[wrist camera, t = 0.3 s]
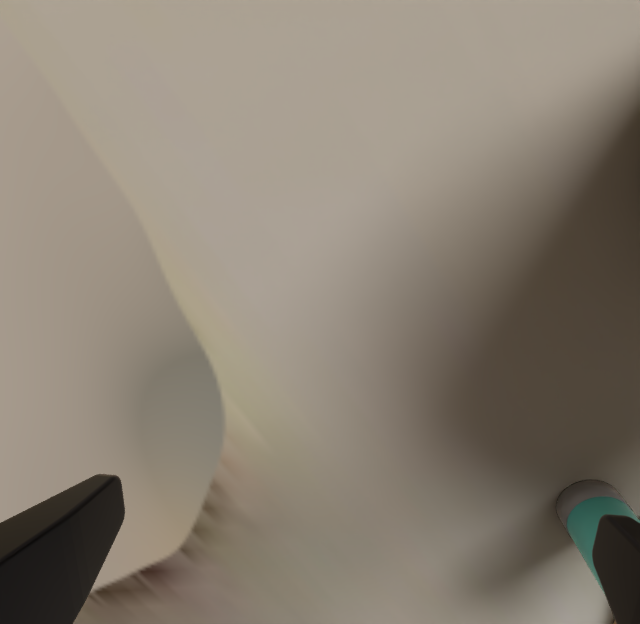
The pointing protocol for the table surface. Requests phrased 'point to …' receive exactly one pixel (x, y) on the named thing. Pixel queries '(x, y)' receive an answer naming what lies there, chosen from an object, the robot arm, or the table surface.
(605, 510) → the marker
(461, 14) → the table surface
